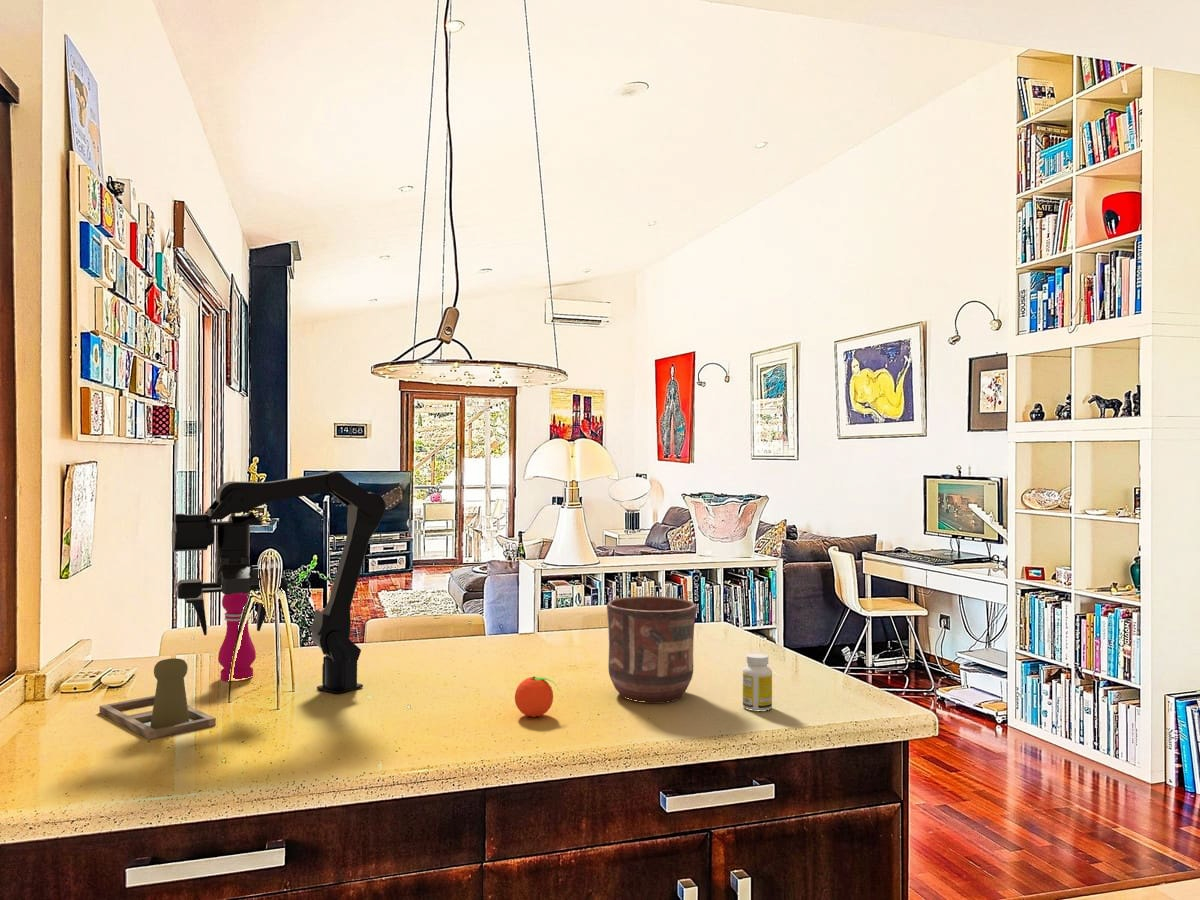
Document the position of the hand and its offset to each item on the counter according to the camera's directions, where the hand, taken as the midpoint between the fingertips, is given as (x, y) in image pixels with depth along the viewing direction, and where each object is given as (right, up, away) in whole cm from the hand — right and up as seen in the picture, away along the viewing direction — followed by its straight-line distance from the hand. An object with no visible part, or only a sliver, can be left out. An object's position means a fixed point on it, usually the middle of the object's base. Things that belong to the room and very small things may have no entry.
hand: (232, 632), depth 167 cm
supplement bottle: (+98, -14, 0) cm, 99 cm away
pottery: (+78, -14, +9) cm, 80 cm away
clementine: (+57, -14, -6) cm, 59 cm away
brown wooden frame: (-9, -13, -10) cm, 19 cm away
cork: (-5, -13, -14) cm, 20 cm away
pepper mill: (-6, -13, +18) cm, 23 cm away
